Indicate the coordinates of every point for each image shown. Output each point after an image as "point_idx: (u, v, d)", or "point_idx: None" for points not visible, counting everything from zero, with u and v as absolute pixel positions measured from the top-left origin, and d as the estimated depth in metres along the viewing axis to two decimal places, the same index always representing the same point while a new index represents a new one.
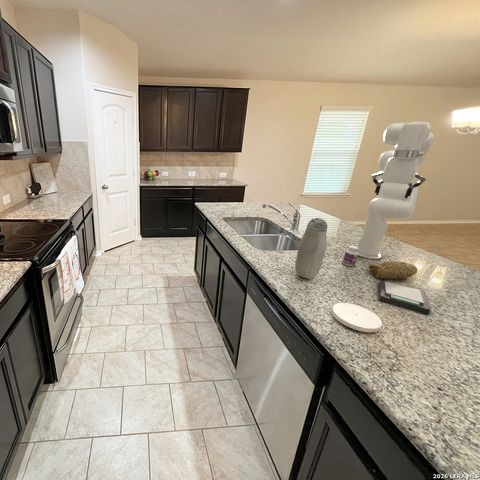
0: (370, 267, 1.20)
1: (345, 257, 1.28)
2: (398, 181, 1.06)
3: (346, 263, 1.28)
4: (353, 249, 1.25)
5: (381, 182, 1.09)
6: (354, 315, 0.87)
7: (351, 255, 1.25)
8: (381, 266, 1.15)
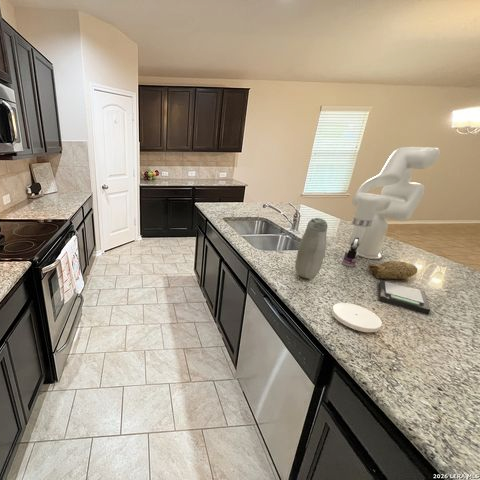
0: (370, 267, 1.20)
1: (345, 257, 1.28)
2: None
3: (346, 263, 1.28)
4: None
5: None
6: (354, 315, 0.87)
7: None
8: (381, 266, 1.15)
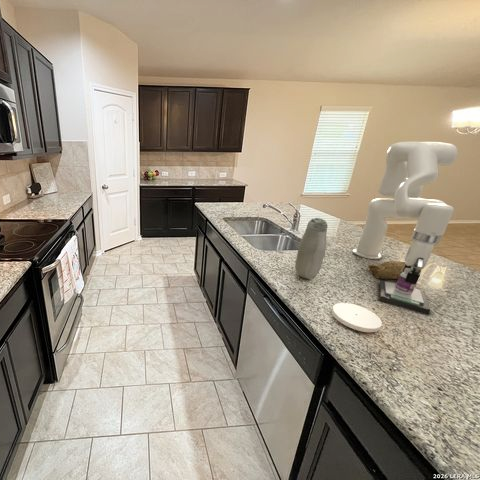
0: (370, 267, 1.20)
1: (400, 282, 1.00)
2: None
3: (401, 290, 1.00)
4: None
5: None
6: (354, 315, 0.87)
7: None
8: (381, 266, 1.15)
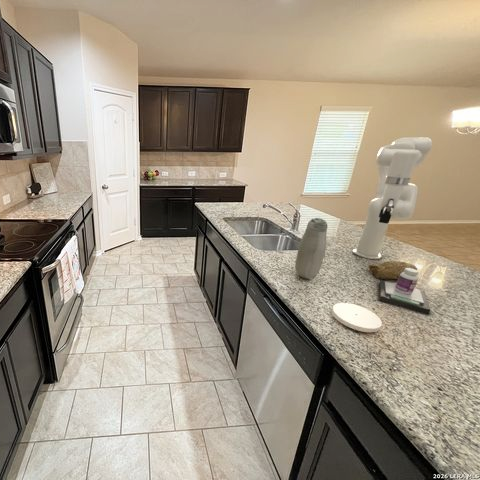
0: (370, 267, 1.20)
1: (400, 282, 1.00)
2: (394, 206, 1.09)
3: (401, 290, 1.00)
4: (412, 273, 0.97)
5: (391, 210, 1.06)
6: (354, 315, 0.87)
7: (409, 280, 0.97)
8: (381, 266, 1.15)
